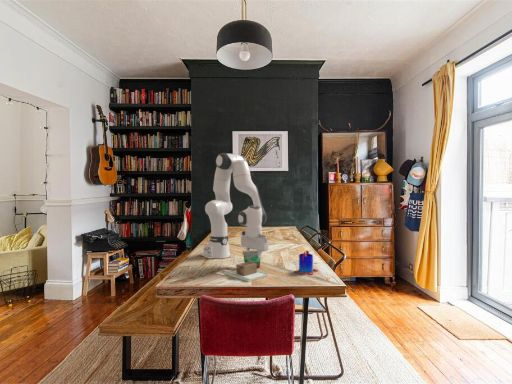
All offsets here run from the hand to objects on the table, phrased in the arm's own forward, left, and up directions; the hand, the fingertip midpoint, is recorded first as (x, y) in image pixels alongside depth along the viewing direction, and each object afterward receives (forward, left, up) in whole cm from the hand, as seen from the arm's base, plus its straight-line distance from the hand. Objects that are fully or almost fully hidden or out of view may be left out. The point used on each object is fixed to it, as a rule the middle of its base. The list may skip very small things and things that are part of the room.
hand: (254, 256), depth 184 cm
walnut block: (+8, -14, -6) cm, 17 cm away
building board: (+8, -14, -7) cm, 17 cm away
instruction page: (-5, -19, -7) cm, 20 cm away
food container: (+1, 0, -7) cm, 7 cm away
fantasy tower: (+26, +15, -7) cm, 31 cm away
